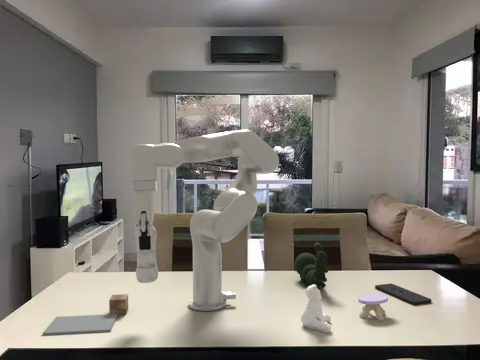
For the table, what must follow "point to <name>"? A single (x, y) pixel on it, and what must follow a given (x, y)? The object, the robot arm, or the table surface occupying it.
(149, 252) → the plastic bottle
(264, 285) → the table surface
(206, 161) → the robot arm
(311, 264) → the toy figurine
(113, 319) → the slate mat
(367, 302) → the toy table
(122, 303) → the walnut block
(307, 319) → the seated beast figurine
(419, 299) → the smart home device
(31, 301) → the table surface
